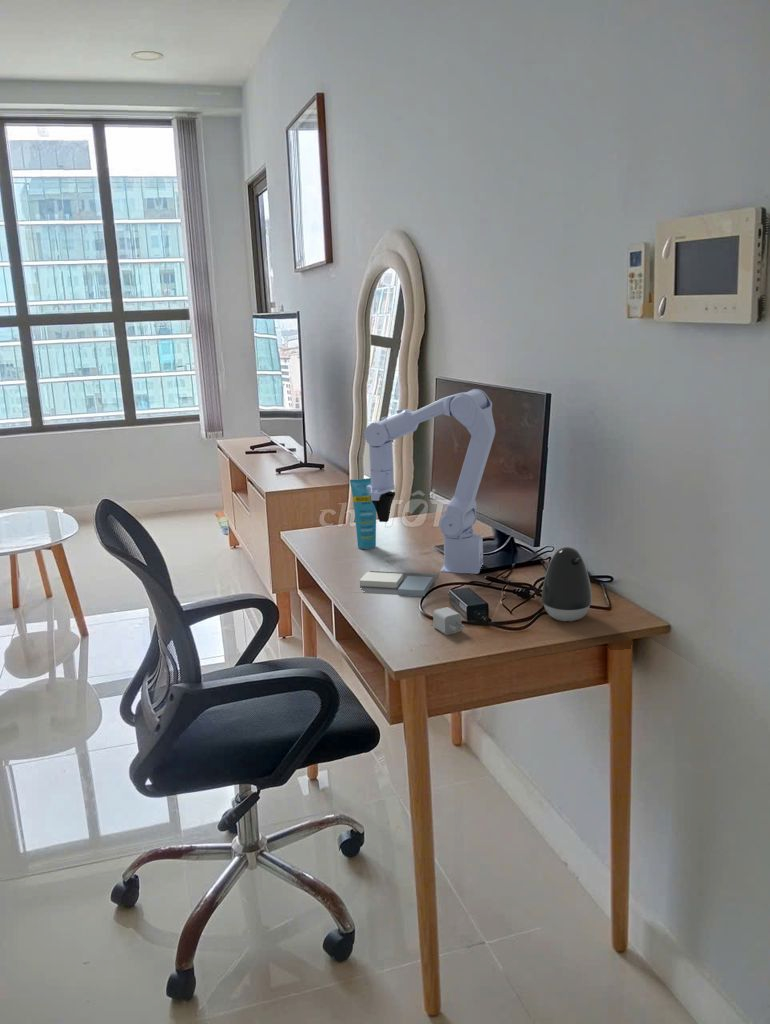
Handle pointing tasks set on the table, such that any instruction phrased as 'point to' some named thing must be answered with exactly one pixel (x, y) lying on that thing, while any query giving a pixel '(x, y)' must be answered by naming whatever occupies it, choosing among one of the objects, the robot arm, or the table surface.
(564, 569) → the grey egg shaped device
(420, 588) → the slate board
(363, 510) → the tube
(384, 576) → the cream board
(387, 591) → the mat
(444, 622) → the usb wall charger
